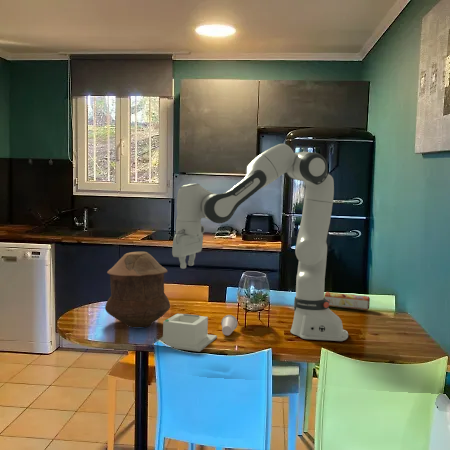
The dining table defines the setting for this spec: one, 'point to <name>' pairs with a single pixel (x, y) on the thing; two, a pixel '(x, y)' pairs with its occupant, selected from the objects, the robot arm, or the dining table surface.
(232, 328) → the smoothie
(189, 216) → the robot arm
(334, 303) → the snack package
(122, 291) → the pottery vessel
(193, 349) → the socket dock
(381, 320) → the dining table surface
